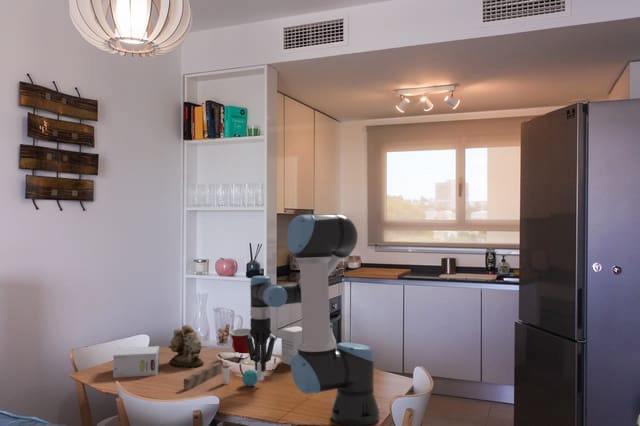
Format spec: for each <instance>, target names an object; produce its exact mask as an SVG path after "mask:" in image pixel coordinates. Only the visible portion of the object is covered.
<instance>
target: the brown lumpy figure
mask: <svg viewBox="0 0 640 426" xmlns="http://www.w3.org/2000/svg"><path fill="white" fill-rule="evenodd" d="M197 335H198V333H197V332H196V331H195V330H194V328H193V326H191V325H189V324H185V325H183V326H182V328H179V327H178V328H175V329H174V330H173V337H172V339H171V341H170V345H168V349H171V352H173V353H177V354H176V355H174V356H173V357H172V358H171V359H170V360H169V363H168V364H169V365H170V366H172V367H174V368H178V369H179V368H180V369H193V368H199V367H200V368H201V367H202V366H204V363H205V362H204V360H202V359H201V358H199V357H200V353H201V350H202V341H201V340H200V339H199V337H198V336H197Z"/></svg>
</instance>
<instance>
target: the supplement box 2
mask: <svg viewBox="0 0 640 426" xmlns="http://www.w3.org/2000/svg"><path fill="white" fill-rule="evenodd" d="M280 334H281V336H280V337H281V363H282V364H285V365H289V366H291V361H292V358H293V357H294V356H295V355H298V347H299V346H300V345H301V343H302V342H303V339H302V326H298V325H297V326H290V327H285V328H281V333H280Z"/></svg>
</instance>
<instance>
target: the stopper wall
mask: <svg viewBox="0 0 640 426" xmlns="http://www.w3.org/2000/svg"><path fill="white" fill-rule="evenodd" d="M221 373H222V362H216V363H214V364H211V365H209V366H208V367H205V368H203V369H201V370H199V371H197V372H195V373H193V374H191V375H189V376H187V377H185V378H183V390H184V391H189V390H192V389H194V388H195V387H198V386H199V385H202V384H204V383H205V382H207V381H209V380H211V379H212V378H214V377H216V376H218V375H219V374H221Z"/></svg>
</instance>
